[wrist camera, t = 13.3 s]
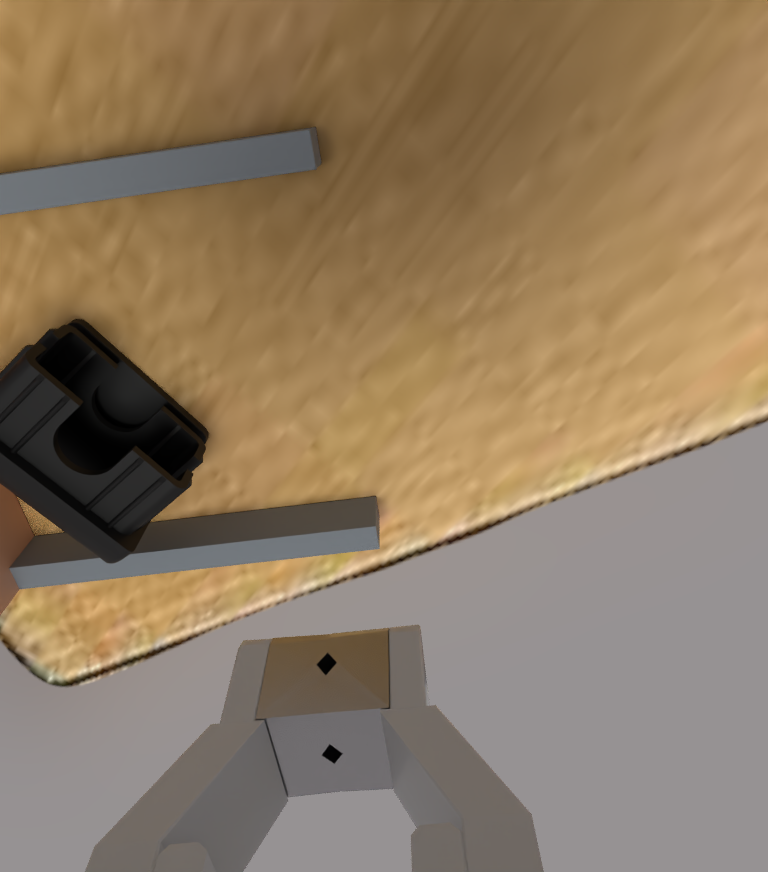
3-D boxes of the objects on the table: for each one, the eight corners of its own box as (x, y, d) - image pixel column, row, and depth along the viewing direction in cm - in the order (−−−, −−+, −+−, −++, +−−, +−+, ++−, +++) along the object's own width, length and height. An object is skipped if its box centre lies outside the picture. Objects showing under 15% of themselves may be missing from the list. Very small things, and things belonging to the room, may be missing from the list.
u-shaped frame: (-155, 196, 30) (-270, 216, 25) (315, 127, 29) (301, 133, 24) (19, 559, 40) (-36, 630, 34) (379, 517, 39) (379, 584, 33)
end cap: (-11, 392, 35) (-92, 453, 29) (71, 306, 33) (2, 353, 27) (137, 510, 38) (92, 587, 32) (220, 439, 36) (188, 507, 30)
